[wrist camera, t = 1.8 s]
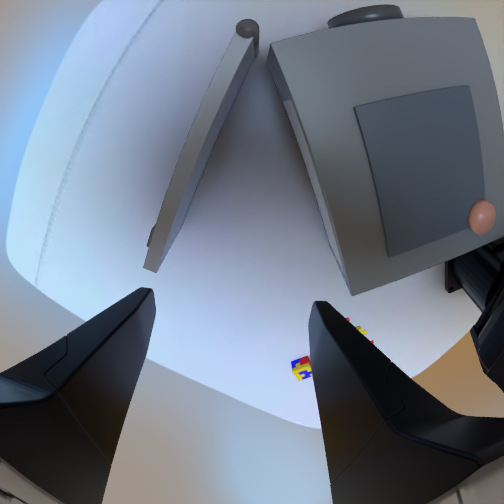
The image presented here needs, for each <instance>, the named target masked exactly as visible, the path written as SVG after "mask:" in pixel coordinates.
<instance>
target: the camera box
mask: <svg viewBox="0 0 504 504" xmlns="http://www.w3.org/2000/svg"><path fill="white" fill-rule="evenodd" d="M327 24H328V26H329V29H325V30H320V31H316V32H311V33H307V34H303V35H299V36H295V37H291V38H288V39H284V40H281V41H277V42H274V43H271V44H270V48H269V53H268V58H267V64H268V67H269V69H270V72H271V74H272V77H273V79H274V82H275V84H276V87H277V89H278V92H279V94H280V97H281V99H282V102H283V104H284V107H285V110H286V112H287V115H288V118H289V120H290V123H291V126H292V129H293V131H294V134H295V137H296V140H297V143H298V145H299V148H300V151H301V154H302V157H303V160H304V163H305V166H306V169H307V172H308V175H309V178H310V181H311V184H312V187H313V190H314V194H315V197H316V200H317V203H318V207H319V210H320V213H321V216H322V220H323V223H324V227H325V230H326V234H327V237H328V241H329V244H330V248H331V250H332V252H333V255H334V257H335V259H336V261H337V263H338V266H339V268H340V270H341V272H342V275H343V277H344V279H345V282H346V284H347V286H348V289H349V291H350V293H351V296H354V295H357V294H360V293H363V292H366V291H369V290H371V289H374V288H377V287H380V286H383V285H386V284H388V283H391V282H394V281H397V280H399V279H402V278H405V277H407V276H410V275H413V274H415V273H418V272H420V271H423V270H426V269H428V268H431V267H433V266H436V265H438V264H441V263H443V262H446V261H448V260H450V259H453V258H455V257H458V256H460V255H462V254H465V253H467V252H469V251H472V250H474V249H476V248H479V247H481V246H483V245H485V244H488V243H490V242H492V241H494V240H496V239H499V238H501V237H503V236H504V131H503V124H502V118H501V112H500V106H499V101H498V96H497V91H496V87H495V82H494V78H493V74H492V70H491V67H490V63H489V59H488V56H487V53H486V49H485V46H484V43H483V40H482V37H481V34H480V31H479V29H478V26H477V23H476V21H475V18H465V17H418V18H404V17H403V14H402V12H401V10H400V8H399V7H398V6H395V5H374V6H368V7H362V8H358V9H354V10H351V11H348V12H345V13H342V14H340V15H337V16H335V17H333V18H332V19H330V20H329V21H328V22H327Z"/></svg>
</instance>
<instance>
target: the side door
mask: <svg viewBox="0 0 504 504" xmlns="http://www.w3.org/2000/svg"><path fill="white" fill-rule="evenodd" d="M258 53H259V25H258V24H257V23H256V22H255V21H254V20H251V19H244V20H242V21H240V22H239V23H238V24H237V26H236V32H235V34H234V36H233V38H232V40H231V42H230V44H229V46H228V48H227V50H226V51H225V53H224V56H223V58H222V60H221V62H220V64H219V66H218V68H217V70H216V72H215V74H214V76H213V78H212V81H211V83H210V85H209V87H208V89H207V91H206V94H205V96H204V98H203V100H202V103H201V105H200V107H199V110H198V112H197V114H196V117H195V119H194V121H193V124H192V126H191V129H190V131H189V134H188V136H187V139H186V141H185V144H184V146H183V149H182V151H181V154H180V157H179V159H178V162H177V165H176V167H175V170H174V173H173V175H172V178H171V181H170V184H169V187H168V189H167V192H166V195H165V198H164V201H163V204H162V207H161V210H160V213H159V216H158V219H157V223H156V224H155V226H154V227H153V228H152V230H151V233H150V236H149V240H148V243H147V247H149V249H148V252H147V256H146V259H145V263H144V266H143V268H145V269H147V270H150V271H152V272H155V273H157V271H158V269H159V267H160V266H161V264H162V262H163V260H164V258H165V256H166V254H167V253H168V251H169V249H170V247H171V245H172V244H173V242H174V240H175V238H176V236H177V235H178V233H179V231H180V229H181V227H182V224H183V221H184V219H185V216H186V213H187V211H188V208H189V205H190V203H191V200H192V198H193V195H194V192H195V190H196V187H197V185H198V182H199V180H200V177H201V175H202V172H203V170H204V168H205V165H206V163H207V160H208V158H209V156H210V153H211V151H212V148H213V146H214V144H215V141H216V139H217V137H218V135H219V132H220V130H221V128H222V125H223V123H224V121H225V119H226V117H227V114H228V112H229V110H230V108H231V106H232V103H233V101H234V99H235V97H236V95H237V93H238V91H239V89H240V86H241V84H242V82H243V80H244V78H245V76H246V74H247V72H248V70H249V68H250V66H251V64H252V62H253V60H254V58H256V57H257V56H258Z"/></svg>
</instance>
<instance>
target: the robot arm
mask: <svg viewBox="0 0 504 504" xmlns="http://www.w3.org/2000/svg"><path fill="white" fill-rule="evenodd" d="M445 264H446V278H445V289H446V291H447V292H448V293H452V292H454V291H456V290H459V289H461V288H462V289H463V290H464V291H465V292H466V293H467V295H468V296H469V297H470V298H471V299H472V301H473V302H474V303H475V304H476V306H477V307H478V308H479V309H480V311H481V312H482V314H481V316H480V317H479V319H478V321H477V322H476V324H475V325H473V327H472V328H471V330H470V333H471V336H472V339H473V342H474V345H475V348H476V351H477V354H478V357H479V360H480V364H481V366H482V369H483V372H484V373H485V374H486V375H487V376H488V377H489V378H490V379H491V380H492V381H493V382H495V383H496V384H497V385H498V386H499V387H500V388H501V390H502V391H503V392H504V236H503V237H501V238H499V239H496V240H494V241H492V242H490V243H488V244H485V245H483V246H481V247H479V248H476V249H474V250H472V251H469V252H467V253H465V254H462V255H460V256H458V257H455V258H453V259H450V260H448V261H446V262H445ZM450 287H451V288H450ZM155 315H156V306H155V298H154V292H153V290H152V289H151V288H144V287H141V288H139V289H137V290H135V291H134V292H132V293H131V294H129V295H127V296H126V297H124V298H123V299H121V300H120V301H118V302H116V303H115V304H113V305H112V306H110V307H109V308H107V309H105V310H104V311H102V312H101V313H99V314H98V315H96V316H95V317H93V318H91V319H90V320H88V321H87V322H85V323H84V324H82V325H81V326H79V327H78V328H76V329H75V330H73V331H71V332H70V333H68V334H67V336H64V337H62V338H61V339H59V340H58V341H56V342H55V343H53V344H52V345H50V346H48V347H47V348H45V349H43V350H42V351H40V352H38V353H37V354H35V355H33V356H31V357H29V358H27V359H26V360H24V361H22V362H20V363H18V364H17V365H15V366H13V367H11V368H9V369H7V370H5V371H3V372H1V373H0V504H102V500H103V496H104V492H105V488H106V485H107V481H108V476H109V473H110V469H111V464H112V461H113V458H114V454H115V451H116V447H117V444H118V441H119V437H120V434H121V431H122V427H123V424H124V421H125V417H126V414H127V411H128V408H129V405H130V401H131V399H132V395H133V393H134V389H135V386H136V383H137V381H138V377H139V375H140V372H141V369H142V366H143V363H144V360H145V357H146V354H147V350H148V346H149V341H150V337H151V333H152V328H153V324H154V320H155ZM308 327H309V343H310V360H311V370H312V376H313V381H314V387H315V392H316V398H317V404H318V409H319V415H320V421H321V427H322V433H323V439H324V445H325V452H326V458H327V465H328V471H329V478H330V483H331V485H330V486H331V493H332V500H333V504H504V418H496V417H475V416H465V415H461V414H458V413H456V412H454V411H452V410H451V409H449V408H448V407H447V406H445V405H444V404H443V403H441V402H440V401H439V400H437V399H436V398H435V397H434V396H432V395H431V394H430V393H428V392H427V391H426V390H425V389H423V388H422V387H421V386H420V385H418V384H417V383H416V382H415V381H413V380H412V379H411V378H410V377H409V376H407V375H406V374H405V373H404V372H403V371H402V370H401V369H400V368H399V367H397V366H396V365H395V364H394V363H393V362H391V360H390V359H389V358H388V357H387V356H386V355H384V354H383V353H382V352H381V351H380V350H379V349H378V348H377V347H376V346H375V345H374V344H373V343H372V342H370V341H369V340H368V339H367V338H366V337H365V336H364V335H363V334H362V333H361V332H360V331H359V330H358V329H356V328H355V327H354V326H353V325H352V324H351V323H350V322H349V321H348V320H347V319H346V318H344V317H343V316H342V315H341V314H340V313H339V312H338V311H337V310H336V309H335V308H334V307H333V306H331V305H330V304H329V303H328V302H327V301H315V302H314V303H313V306H312V310H311V314H310V318H309V326H308Z"/></svg>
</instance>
